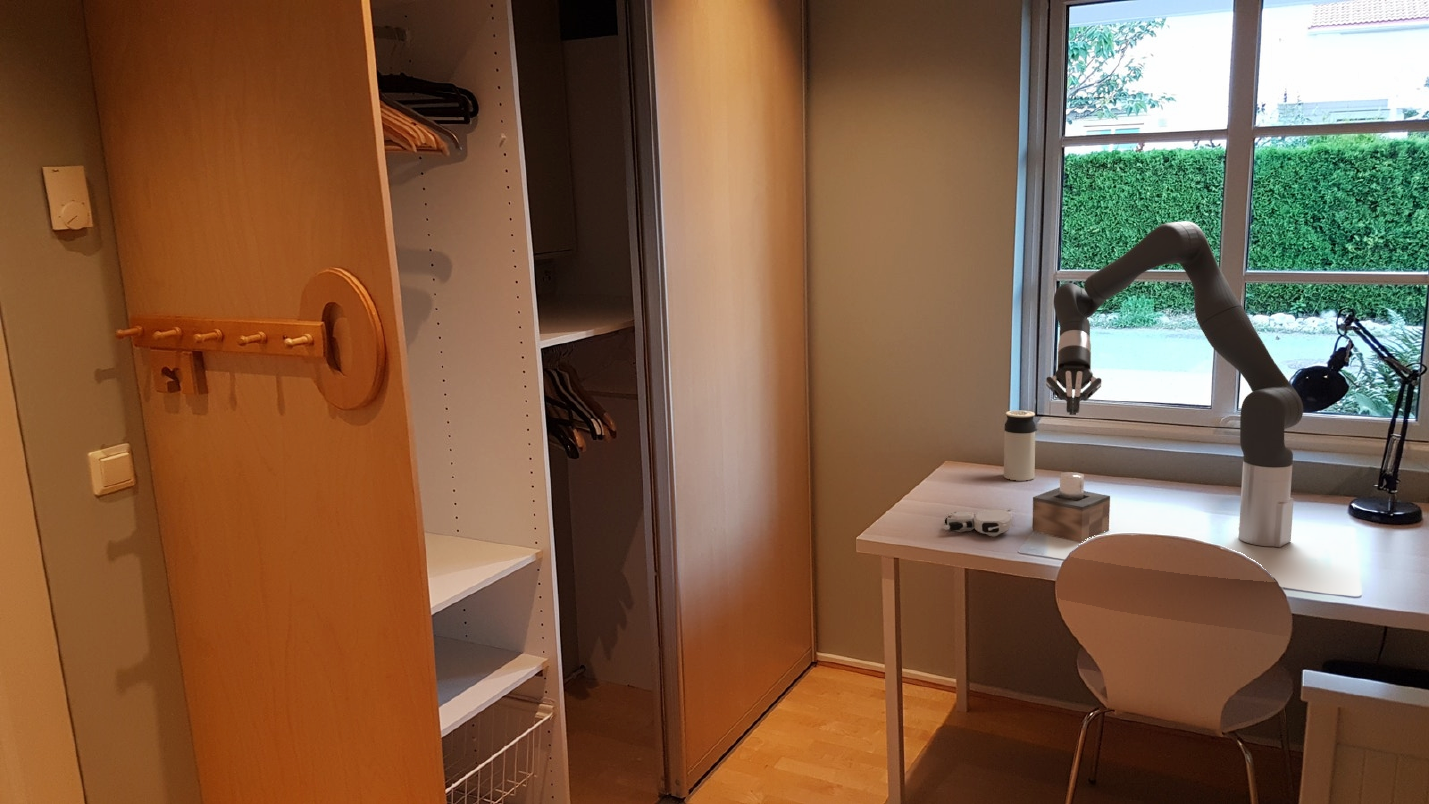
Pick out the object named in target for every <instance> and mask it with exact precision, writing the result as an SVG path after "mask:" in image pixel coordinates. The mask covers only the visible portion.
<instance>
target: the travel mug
mask: <svg viewBox="0 0 1429 804" xmlns="http://www.w3.org/2000/svg"><path fill="white" fill-rule="evenodd" d="M1005 415H1006V418H1007V419H1006V421H1005V423H1004V436H1003V438H1004V440H1003V441H1004V442H1003V443H1004V444H1003V445H1004V446H1003V448H1004V450H1003V477H1004V478H1005V479H1006V480H1009V479H1010V481H1013V480H1016V482H1027V481H1026V480H1028V481H1031V480H1033V479H1035V467H1036V466H1035V464H1036V463H1035V461H1036V460H1035V459H1036V457H1035V456H1036V424H1035V421H1034V416H1035V415H1036V414H1035V412H1033V411H1030V410H1021V409H1020V410H1009V411H1008V410H1007V411H1006V412H1005Z"/></svg>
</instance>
